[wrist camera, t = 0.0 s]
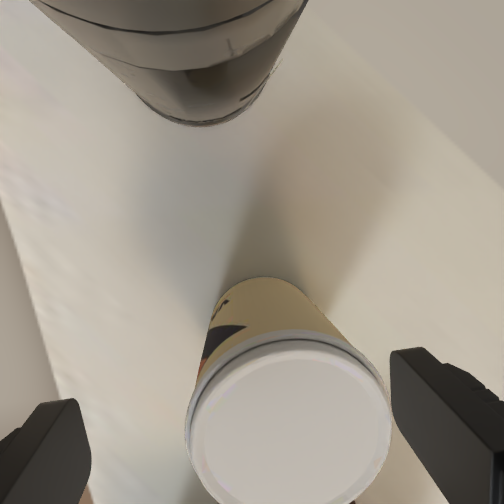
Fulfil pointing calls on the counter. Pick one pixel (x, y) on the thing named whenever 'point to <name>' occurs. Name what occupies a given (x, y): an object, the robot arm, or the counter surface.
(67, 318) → the counter surface
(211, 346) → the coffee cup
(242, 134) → the counter surface
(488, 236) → the counter surface
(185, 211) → the counter surface
